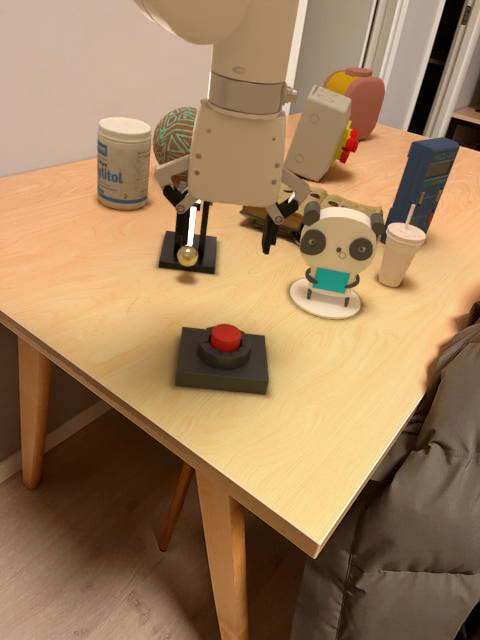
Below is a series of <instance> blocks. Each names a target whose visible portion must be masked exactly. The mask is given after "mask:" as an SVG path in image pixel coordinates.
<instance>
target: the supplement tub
mask: <svg viewBox="0 0 480 640" xmlns="http://www.w3.org/2000/svg"><path fill="white" fill-rule="evenodd" d="M96 143H97V145H96V147H97V148H96V149H97V150H96V151H97V154H96V155H97V158H96V160H97V161H96V162H97V163H96V164H97V165H96V166H97V167H96V170H97V171H96V174H97V175H96V185H97V186H96V187H97V188H96V191H97V192H96V196H97V199H98V201H99V202H100V203H101V205H102V204H103V205H104V206H106V207H108V208H111V209H115V210H123V211H133V210H137V209H140V208H142V207H144V206H145V205H146V204H147V202H148V196H149V181H150V168H151V167H150V166H151V152H152V151H151V150H152V127H151V125H149V124H148V123H147V122H145V121H142V120H140V119H135V118H131V117H123V116H113V117H111V116H110V117H105V118H101V119H100V120H99V121H98V128H97V142H96Z"/></svg>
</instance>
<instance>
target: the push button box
mask: <svg viewBox="0 0 480 640" xmlns="http://www.w3.org/2000/svg"><path fill="white" fill-rule="evenodd" d="M215 326H216V325H214V326H209V327H206V328H198V327H191V326H190V327H189V326H182V328H181V334H180V342H179V347H178V348H179V349H178V355H177V356H178V357H177V363H176V364H177V365H176V371H175V372H176V373H175V383H174V385H175V386H176V387H177V386H178V387H180V386H181V387H189V388H199V389H210V390H220V391H229V392H241V393H250V394H251V393H252V394H261V395H266V394H267V390H268V386H269V382H270V381H269V380H270V379H269V369H268V357H267V345H266V344H267V343H266V335H265V334H255V333H246V332H244V331H243V330H241V329H239V330H240V331H241V340H240V345H239V348H238V349H237V350H236V351H233V352H221V351H219V350H217V349H215V348H213V347H212V345H211V335H212V329H213V328H214V327H215Z"/></svg>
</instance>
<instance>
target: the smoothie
mask: <svg viewBox="0 0 480 640" xmlns="http://www.w3.org/2000/svg"><path fill="white" fill-rule="evenodd" d="M414 208H415V205H414V204H412V206H411V209H410V212H409V214H408V217H407V220H406V223H392V224H389V225H388V228H387V230H386V233H387V238H386V243H384V247H383V248H384V249H383V252H382V253H383V254H382V259H381V263H380V269H379V274H378V281H379V282H380V283H381V284H382V285H384V286H386V287H390V288H396V287H399V286H400V284H401V283H402V281H403V279H404V277H405V275H406V274H407V271H408V269H409V268H410V267H411V264H412V262H413V260H414V258H415V257H416V255H417V253H418V252H419V249H420V247H421V245H423V244H425V242H426V238H427V234H425V233H424V232H423V231H422V230H421V229H419V228H417V227H415V226H412V225H409V222H410V219H411V216H412V214H413V211H414Z"/></svg>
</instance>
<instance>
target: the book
mask: <svg viewBox="0 0 480 640" xmlns="http://www.w3.org/2000/svg"><path fill="white" fill-rule="evenodd" d="M309 187H310V189H311V193H310V194H309V196H308V197H307V198H306V199H305V200H304V202H303V203H302V204H301V205H300V206H299V209H298V210H297V211H296V212H294V213H293V214H291V215H290V216H289V217H287V218H286V219H284V222H283V223H282V224H280V225H279V230H278V235H282V236H286V237H292V240H293V241H294V242H295V244H296V245H298V246H300V239H301V233H302V230H303V227H304V225H305V224H304V223H303V213H304V208H305V206H306V204H307V203H309V202H311V201H317V202H318V203H319V204H320V206H321V210H322V209H325V208H329V207H344V208H349V209H353V210H356V211H359V212H362V213H364V214H365V215H367V216H368V217H369V218H370V217H371V215H372V214H373V213H380V214H382V216H383V217H384V209H383V206H382V205H380V206H375V205H374V206H373V205H367V204H362V203H358V202H355V201H352V200H350V199H348V198H345V197H343V196H340V195H338V194H335V193H331V194H330V193H328V191H327V190H326V189H325V188H322V187H320V186H319V187H318V186H317V187H316V186H311V185H309ZM293 192H294V190H293V189H291V188H290V187H288V186H287V185H285V184H284V183H282V182H281V185H280V191H279V196H278V199H277V202H278V203H279V204H280V203H282V202H283V201H285V200H286V199H288V198H289V197H291V196H292V194H293ZM238 213H239V214H240V216H241V215H242V216H243V217H245V218H250V219H254V220H255V221H253V224H252V226H253V227H257V228H261V229H263V230H264V224H265V218H266V215H268V212H267V211H266V209H265V208H264V207H252V206H242V209H241V210H239V211H238ZM375 235H376V236H378V235H377V234H375Z"/></svg>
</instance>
